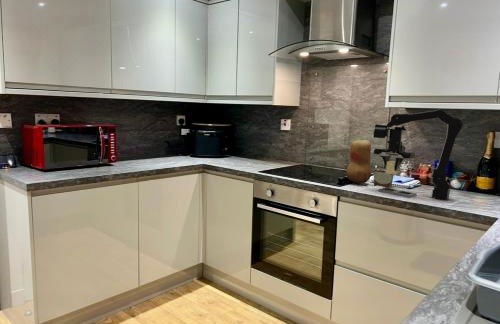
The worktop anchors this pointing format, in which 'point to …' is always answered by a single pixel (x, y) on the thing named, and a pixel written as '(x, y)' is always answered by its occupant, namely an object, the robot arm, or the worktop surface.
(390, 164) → the light wood beam
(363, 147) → the butternut squash
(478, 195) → the worktop surface
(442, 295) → the worktop surface
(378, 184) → the food container
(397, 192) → the grey slotted board
